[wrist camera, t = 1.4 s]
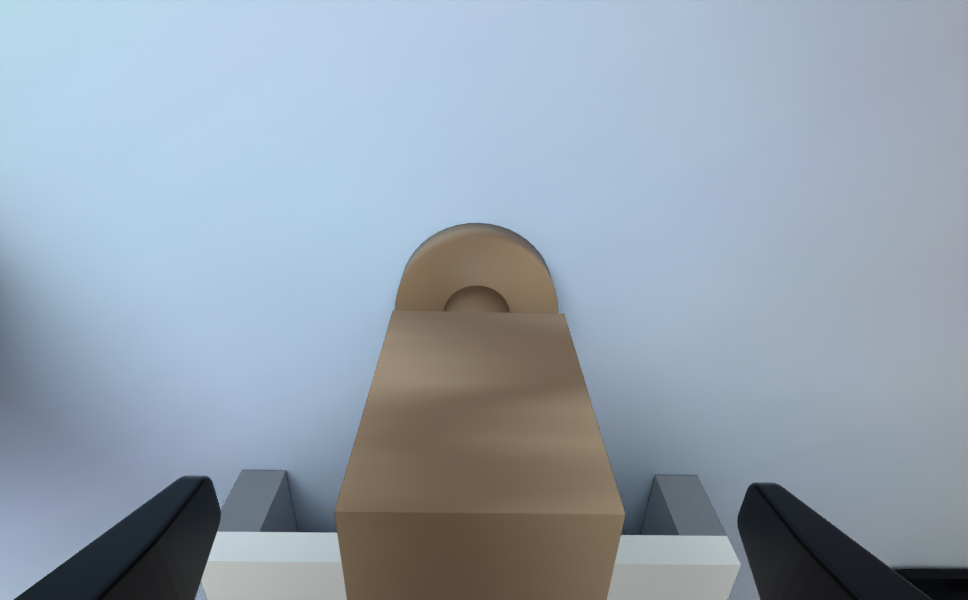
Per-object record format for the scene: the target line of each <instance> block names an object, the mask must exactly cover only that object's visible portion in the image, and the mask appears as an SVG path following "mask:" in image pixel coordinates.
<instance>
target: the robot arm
mask: <svg viewBox="0 0 968 600" xmlns="http://www.w3.org/2000/svg"><path fill="white" fill-rule="evenodd" d="M220 520H221V510H220V506H219V503H218V499H217V496H216V492H215V489H214V485H213V482H212V480H211V479H210V478H209V477H208V476H183V477H181V478H179V479H178V480H176V481H175V482H173V483H172V484H171V485H169V486H168V487H167V488H165V489H164V490H162V491H161V492H160V493H158V494H157V495H156V496H154V497H153V498H152V499H150V500H149V501H147V502H146V503H145V504H143V505H142V506H141V507H139V508H138V509H137V510H135V511H134V512H132V513H131V514H130V515H128V516H127V517H126V518H124V519H123V520H122V521H120V522H119V523H117V524H116V525H115V526H113V527H112V528H111V529H109V530H108V531H107V532H105V533H104V534H102V535H101V536H100V537H98V538H97V539H96V540H94V541H93V542H92V543H90V544H89V545H87V546H86V547H85V548H83V549H82V550H81V551H79V552H78V553H77V554H75V555H74V556H72V557H71V558H70V559H68V560H67V561H66V562H64V563H63V564H62V565H60V566H59V567H57V568H56V569H55V570H53V571H52V572H51V573H49V574H48V575H47V576H45V577H44V578H42V579H41V580H40V581H38V582H37V583H36V584H34V585H33V586H32V587H30V588H29V589H27V590H26V591H25V592H23V593H22V594H21V595H19V596H18V597H17V598H15V599H14V600H195V597H196V594H197V591H198V588H199V585H200V582H201V579H202V576H203V573H204V570H205V567H206V564H207V561H208V558H209V555H210V552H211V549H212V546H213V543H214V540H215V537H216V534H217V531H218V528H219V525H220ZM737 522H738V530H739V533H740V536H741V540H742V543H743V546H744V549H745V552H746V555H747V558H748V562H749V565H750V568H751V571H752V574H753V577H754V580H755V584H756V587H757V590H758V593H759V596H760V599H761V600H968V570H947V569H900V570H896V571H894V570H892V569H891V568H890V567H888V566H887V565H886V564H884V563H883V562H882V561H880V560H879V559H878V558H876V557H875V556H874V555H872V554H871V553H870V552H868V551H867V550H866V549H864V548H863V547H862V546H860V545H859V544H858V543H856V542H855V541H854V540H852V539H851V538H850V537H848V536H847V535H846V534H844V533H843V532H842V531H840V530H839V529H838V528H836V527H835V526H834V525H832V524H831V523H830V522H828V521H827V520H826V519H824V518H823V517H822V516H820V515H819V514H818V513H816V512H815V511H814V510H812V509H811V508H810V507H808V506H807V505H806V504H804V503H803V502H802V501H800V500H799V499H798V498H796V497H795V496H794V495H792V494H791V493H790V492H788V491H787V490H786V489H784V488H783V487H782V486H780V485H778V484H776V483H752V484H751V485H750V486H749V487H748V489H747V492H746V494H745V497H744V500H743V503H742V506H741V508H740V511H739V514H738V520H737Z"/></svg>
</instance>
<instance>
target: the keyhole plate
mask: <svg viewBox="0 0 968 600" xmlns="http://www.w3.org/2000/svg"><path fill="white" fill-rule="evenodd" d="M740 566H741V564H740V562H739V560H738V558H737V556H736V553H735V551H734V549H733V547H732V545H731V543H730V541H729V539H728V537H727V535H726V533H725V531H724V529H723V527H722V525H721V523H720V521H719V519H718V517H717V515H716V513H715V511H714V509H713V507H712V505H711V503H710V501H709V499H708V497H707V495H706V493H705V491H704V488H703V486H702V484H701V482H700V480H699V478H698V476H697V475H655V478H654V482H653V486H652V490H651V494H650V498H649V503H648V507H647V511H646V515H645V519H644V523H643V527H642V531H641V535H621V537H620V542H619V546H618V551H617V555H616V560H615V564H614V569H613V574H612V578H611V583H610V587H609V592H608V596H607V600H728V597H729V595H730V592H731V590H732V587H733V584H734V582H735V579H736V577H737V574H738V572H739V569H740ZM201 582H202V585H203V588H204V591H205V594H206V597H207V600H347V596H346V590H345V583H344V576H343V569H342V562H341V555H340V548H339V542H338V535H337V533H324V532H298V531H297V526H296V521H295V516H294V511H293V506H292V501H291V496H290V491H289V486H288V481H287V475H286V471H263V470H242V471H241V473H240V475H239V477H238V479H237V481H236V483H235V485H234V486H233V488H232V490H231V492H230V494H229V496H228V498H227V500H226V502H225V504H224V505H223V507H222V509H221V520H220V525H219V528H218V531H217V534H216V537H215V540H214V543H213V546H212V549H211V552H210V555H209V558H208V561H207V564H206V567H205V570H204V573H203V576H202V579H201Z"/></svg>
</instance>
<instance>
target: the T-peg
mask: <svg viewBox="0 0 968 600" xmlns="http://www.w3.org/2000/svg"><path fill="white" fill-rule="evenodd" d="M334 514H335V521H336V528H337V535H338V542H339V548H340V555H341V562H342V569H343V576H344V583H345V590H346V596H347V600H607V596H608V592H609V587H610V583H611V578H612V574H613V569H614V564H615V560H616V555H617V551H618V546H619V542H620V537H621V533H622V528H623V523H624V519H625V511H624V508H623V505H622V501H621V498H620V495H619V492H618V488H617V485H616V482H615V479H614V475H613V472H612V469H611V465H610V462H609V459H608V456H607V452H606V449H605V446H604V443H603V439H602V436H601V433H600V430H599V426H598V423H597V420H596V417H595V413H594V410H593V407H592V403H591V400H590V397H589V394H588V390H587V387H586V384H585V381H584V377H583V374H582V371H581V368H580V364H579V361H578V358H577V355H576V351H575V348H574V345H573V341H572V338H571V335H570V332H569V328H568V325H567V322H566V319H565V315H564V314H558V303H557V297H556V293H555V290H554V286H553V283H552V279H551V276H550V273H549V270H548V267H547V265H546V263H545V261H544V259H543V258H542V256H541V255H540V253H539V252H538V251H537V250H536V248H535V247H534V246H533V245H532V244H531V243H529V242H528V241H527V240H526V239H525V238H523V237H522V236H520V235H519V234H517V233H515V232H513V231H511V230H509V229H506V228H503V227H500V226H496V225H492V224H484V223H467V224H461V225H456V226H453V227H450V228H447V229H444V230H442V231H440V232H438V233H436V234H434V235H433V236H431V237H430V238H428V239H427V240H426V241H425V242H423V243H422V244H421V245H420V246H419V247H418V248H417V249H416V250H415V252H414V253H413V255H412V256H411V257H410V259H409V261H408V263H407V265H406V267H405V270H404V273H403V276H402V279H401V282H400V286H399V289H398V293H397V297H396V303H395V311H393V312H392V315H391V319H390V322H389V326H388V329H387V332H386V336H385V339H384V343H383V346H382V349H381V353H380V356H379V360H378V363H377V367H376V370H375V373H374V377H373V380H372V384H371V387H370V391H369V394H368V397H367V401H366V404H365V408H364V411H363V415H362V418H361V421H360V425H359V428H358V432H357V435H356V439H355V442H354V445H353V449H352V452H351V456H350V459H349V463H348V466H347V469H346V473H345V476H344V480H343V483H342V487H341V490H340V493H339V497H338V500H337V504H336V507H335V510H334Z"/></svg>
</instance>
